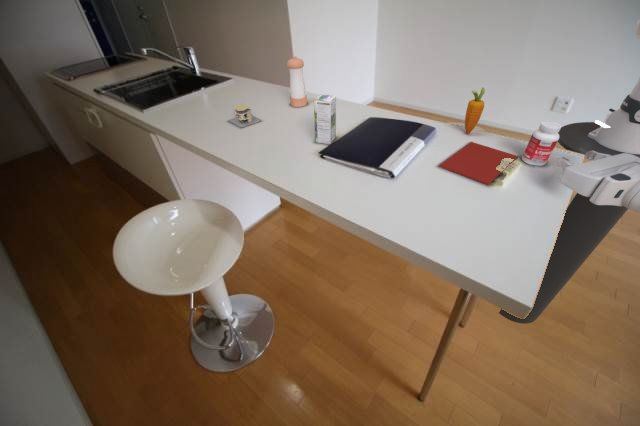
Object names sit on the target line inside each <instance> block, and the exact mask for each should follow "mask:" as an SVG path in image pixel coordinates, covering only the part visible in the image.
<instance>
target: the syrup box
mask: <svg viewBox="0 0 640 426" xmlns="http://www.w3.org/2000/svg"><path fill="white" fill-rule="evenodd" d="M336 110H337V96H336V95H332V94H319V95H318V96H316V98H315V99H314V100H313V116H314V117H313V118H314V142H315V143H317V144H325V145H326V144H327V145H331V144H333V142H334V140H335V139H336V137H337V136H336V134H337V131H336V127H337V124H336V123H337V111H336Z"/></svg>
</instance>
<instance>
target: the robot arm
mask: <svg viewBox="0 0 640 426" xmlns="http://www.w3.org/2000/svg"><path fill="white" fill-rule="evenodd" d="M635 34H636V37H637V38H638V40H640V16H639V17H638V19H637V22H636V25H635ZM608 111H609V112H610V113H608V114H607V115H606V117H605V119H604V121H603V122H602V121H600V120H597V119H596V120H595V121H594V122H595V123H597V124H599V125H601V127H600V128H598V129H596V130H594V131H592V132H590V133H589V134H588V135H587V136H588V137H590V138H592V139H594V140H595V141H597V142H598V143H599V144H601V145H603V146H605V147H607V148H610V149H613V150H616V151H620V152H624V153H622V154H618V155H614V156H611V155H608V154H603V153H598V152H595V151H588V152H586V154H585V155H584V158H585V159H587V160H588V161H585V162H582V163H577V164H574V163H570V162H569V161H570V159H569V158H566V157H565V156H563V157H558V158H557V159H556V161H555V165H556V166H558V167H560V168H561V170H562V171H561V172H560V174H559V176H558V181H559V182H560V183H561V184H562V185H564V186H565V187H566V188H568V189H570V190H572V191H573V192H574V193H576V194H577V193H578V194H580V195H583V196H586V197H591V198H590V201H591V202H592V203H594V204H596V205H614V206H624V207H626V208H628V210H630V211H632V212H635V213H639V214H640V158H639V157H637V156H635V155H632V154H640V77H639V78H638V80H637V82H636V83H635V85H634V88H633V89H632V90H631V92H630V93H629V94H627V95H626V96H625V98H624V99H623V101H622V103H621V105H620V106H619V108H618V109H614V108H609V109H608ZM628 153H630V154H628Z"/></svg>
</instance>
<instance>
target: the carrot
mask: <svg viewBox="0 0 640 426" xmlns="http://www.w3.org/2000/svg"><path fill="white" fill-rule="evenodd" d="M485 91H486V88H485V87H482V88H481V90H480V93H478V91H477V90H472V91H471V93H472V94H473V96H474V99H470V100H469V101H468V103H467V107H466V111H465V117H464V130H465V134H466V135H469V134H471V132H473V130H474V129H475V128H476V126H477V125H478V123H479V121H480V119H481V116H482V115H483V111H484V108H485V101H483V100H482V98H483V96H484V95H485V93H486V92H485Z"/></svg>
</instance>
